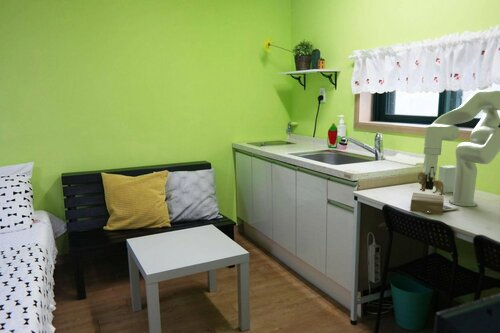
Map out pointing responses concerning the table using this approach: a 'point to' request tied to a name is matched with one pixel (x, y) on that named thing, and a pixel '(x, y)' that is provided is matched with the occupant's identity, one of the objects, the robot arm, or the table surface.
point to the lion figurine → (438, 184)
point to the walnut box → (427, 203)
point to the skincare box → (447, 177)
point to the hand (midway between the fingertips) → (428, 187)
